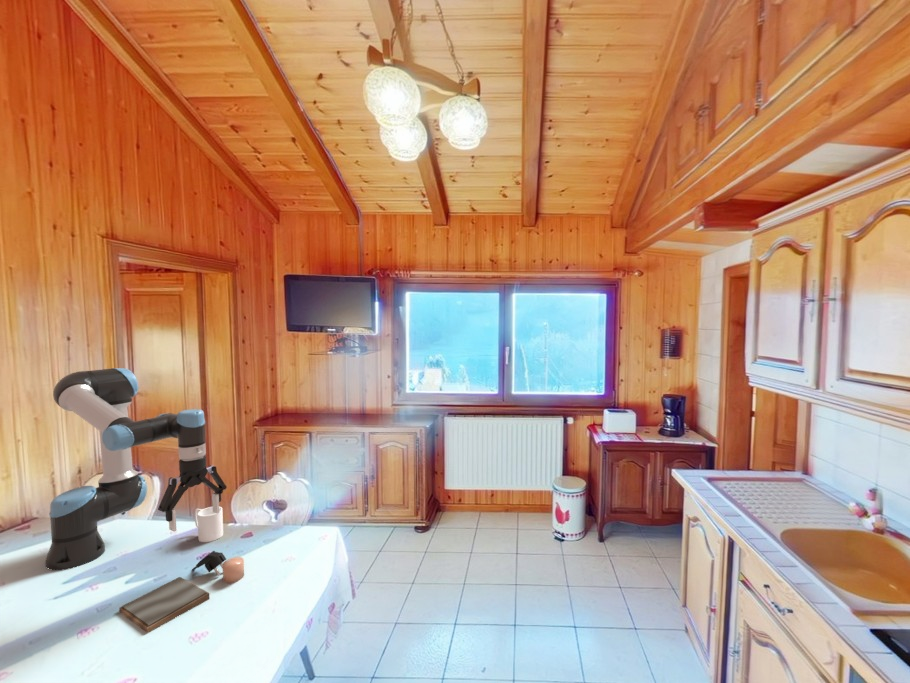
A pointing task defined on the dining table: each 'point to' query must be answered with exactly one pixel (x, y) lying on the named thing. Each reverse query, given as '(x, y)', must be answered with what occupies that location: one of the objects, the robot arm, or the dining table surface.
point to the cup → (209, 524)
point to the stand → (164, 604)
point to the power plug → (212, 561)
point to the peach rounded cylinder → (233, 570)
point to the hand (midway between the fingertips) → (195, 520)
